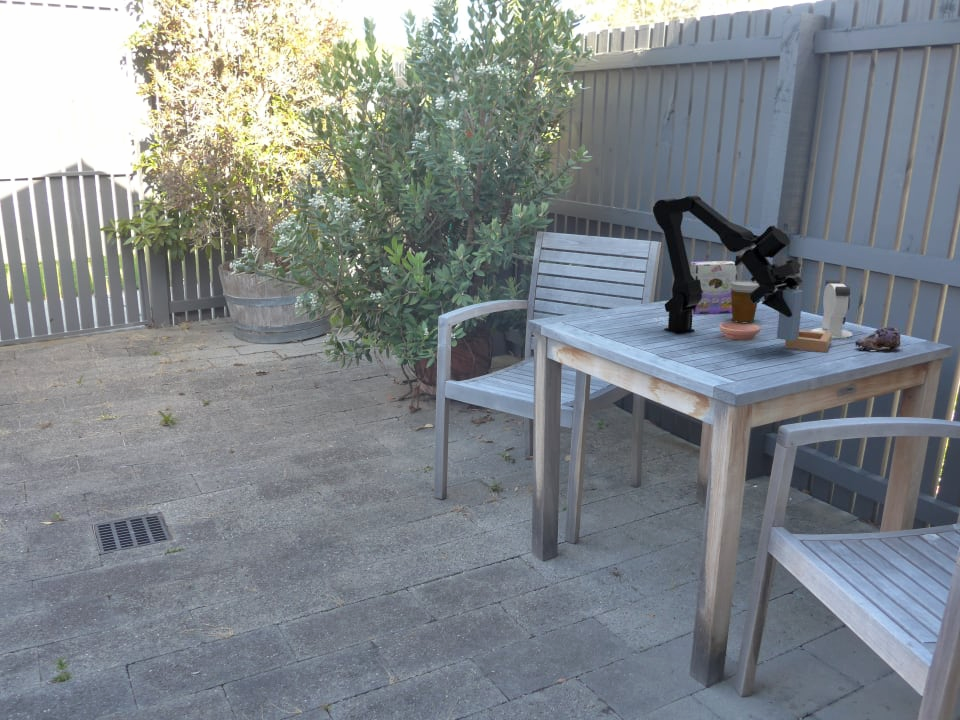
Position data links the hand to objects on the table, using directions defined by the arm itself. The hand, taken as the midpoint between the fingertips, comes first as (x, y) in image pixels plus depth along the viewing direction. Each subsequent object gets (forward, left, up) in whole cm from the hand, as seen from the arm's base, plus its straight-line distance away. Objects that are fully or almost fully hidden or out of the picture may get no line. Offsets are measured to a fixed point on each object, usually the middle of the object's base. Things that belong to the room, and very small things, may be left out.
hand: (794, 315), depth 222 cm
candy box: (+19, +49, -11) cm, 54 cm away
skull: (+24, -8, -11) cm, 28 cm away
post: (0, +1, -7) cm, 7 cm away
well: (+11, +3, -11) cm, 15 cm away
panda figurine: (+28, +9, -11) cm, 31 cm away
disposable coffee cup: (+18, +34, -11) cm, 40 cm away
